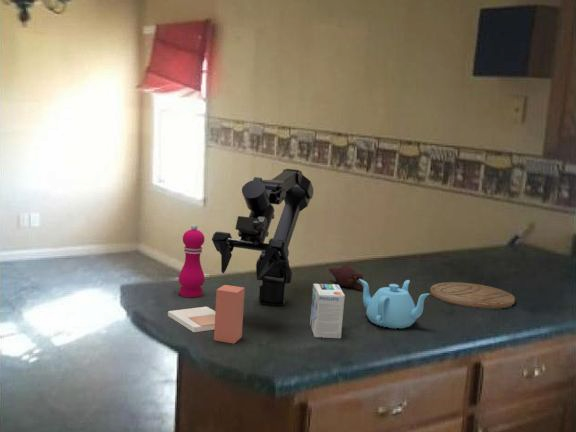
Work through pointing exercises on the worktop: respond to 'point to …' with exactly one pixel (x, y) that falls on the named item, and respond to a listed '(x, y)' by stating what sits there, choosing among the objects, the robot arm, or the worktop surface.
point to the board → (195, 318)
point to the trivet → (472, 295)
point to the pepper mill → (192, 264)
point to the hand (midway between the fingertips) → (240, 275)
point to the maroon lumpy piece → (347, 276)
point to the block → (229, 313)
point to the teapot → (392, 306)
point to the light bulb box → (327, 310)
